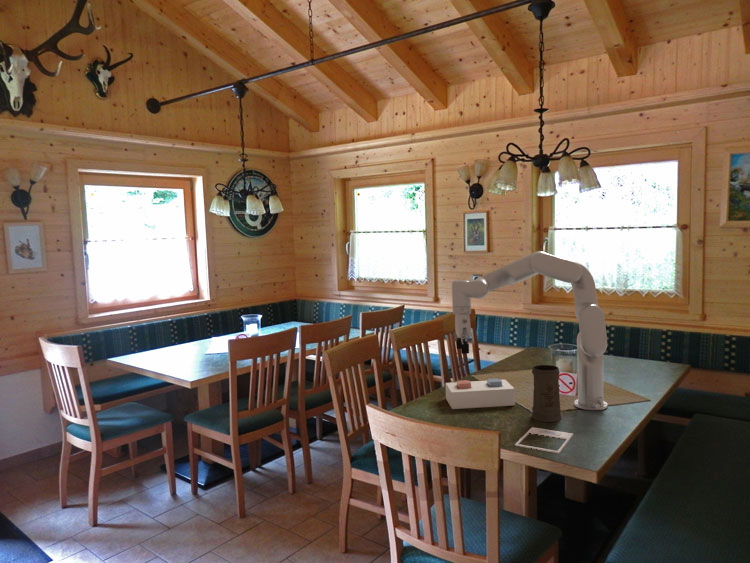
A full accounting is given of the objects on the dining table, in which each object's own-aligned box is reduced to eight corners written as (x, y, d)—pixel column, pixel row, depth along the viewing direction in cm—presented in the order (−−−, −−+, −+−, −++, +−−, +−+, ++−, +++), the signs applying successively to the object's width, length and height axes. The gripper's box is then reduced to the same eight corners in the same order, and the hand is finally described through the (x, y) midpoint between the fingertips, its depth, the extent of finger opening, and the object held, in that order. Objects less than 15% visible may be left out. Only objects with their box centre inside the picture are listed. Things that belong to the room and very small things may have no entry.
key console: (515, 405, 231) (514, 388, 230) (452, 409, 230) (451, 392, 229) (505, 395, 245) (505, 379, 244) (446, 398, 244) (445, 382, 243)
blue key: (502, 390, 235) (501, 381, 234) (490, 391, 234) (489, 382, 234) (498, 387, 240) (498, 378, 239) (487, 388, 239) (487, 378, 239)
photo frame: (573, 433, 196) (558, 451, 181) (573, 436, 196) (559, 454, 181) (532, 426, 204) (514, 443, 189) (532, 429, 204) (515, 446, 190)
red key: (471, 392, 234) (470, 383, 234) (459, 393, 234) (458, 383, 233) (468, 389, 239) (468, 380, 239) (456, 389, 239) (456, 380, 238)
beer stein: (567, 421, 210) (565, 368, 209) (540, 424, 208) (538, 370, 207) (548, 411, 225) (546, 361, 224) (523, 413, 223) (520, 363, 223)
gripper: (475, 312, 225) (476, 355, 226) (466, 306, 242) (467, 346, 244) (456, 313, 224) (458, 356, 226) (449, 307, 242) (450, 347, 243)
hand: (462, 350), depth 235 cm, fingers open, 8 cm apart
